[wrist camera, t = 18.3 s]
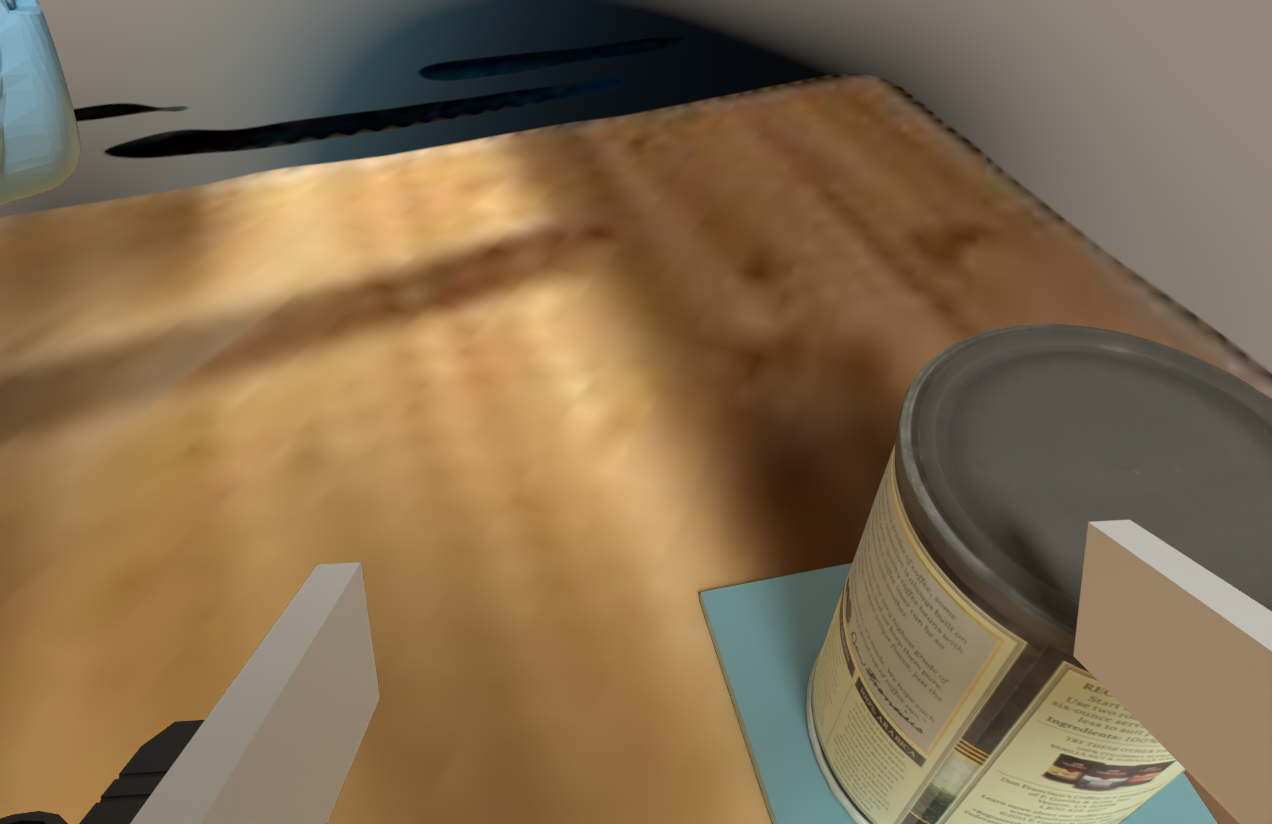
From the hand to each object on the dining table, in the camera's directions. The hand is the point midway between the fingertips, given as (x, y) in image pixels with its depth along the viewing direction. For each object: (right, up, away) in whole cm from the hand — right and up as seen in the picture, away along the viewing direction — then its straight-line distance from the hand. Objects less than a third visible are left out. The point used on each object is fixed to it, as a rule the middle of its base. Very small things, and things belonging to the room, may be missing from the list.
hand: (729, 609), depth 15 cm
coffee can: (+9, -8, +14) cm, 19 cm away
